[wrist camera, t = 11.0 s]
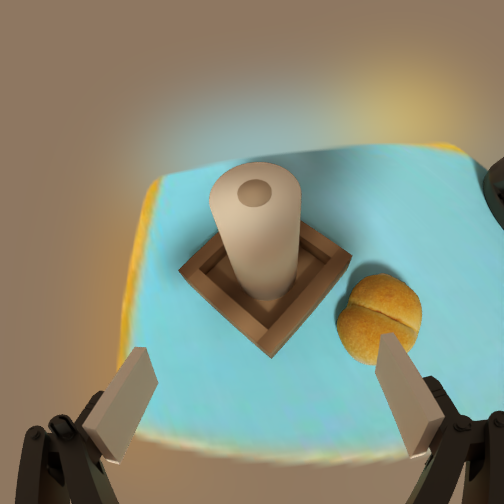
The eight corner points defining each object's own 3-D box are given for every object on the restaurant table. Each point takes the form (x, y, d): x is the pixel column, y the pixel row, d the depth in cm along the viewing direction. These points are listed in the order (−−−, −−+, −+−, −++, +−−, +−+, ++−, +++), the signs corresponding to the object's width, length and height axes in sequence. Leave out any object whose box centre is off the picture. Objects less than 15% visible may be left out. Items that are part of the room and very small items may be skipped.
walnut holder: (346, 269, 29) (352, 255, 27) (271, 358, 26) (269, 354, 23) (262, 211, 34) (259, 193, 31) (187, 282, 31) (178, 270, 28)
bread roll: (323, 345, 26) (328, 337, 23) (361, 271, 29) (370, 253, 26) (394, 381, 23) (409, 378, 20) (425, 304, 26) (441, 291, 23)
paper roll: (309, 269, 29) (320, 187, 18) (268, 313, 27) (256, 249, 16) (264, 236, 31) (252, 149, 20) (224, 275, 29) (190, 198, 19)
